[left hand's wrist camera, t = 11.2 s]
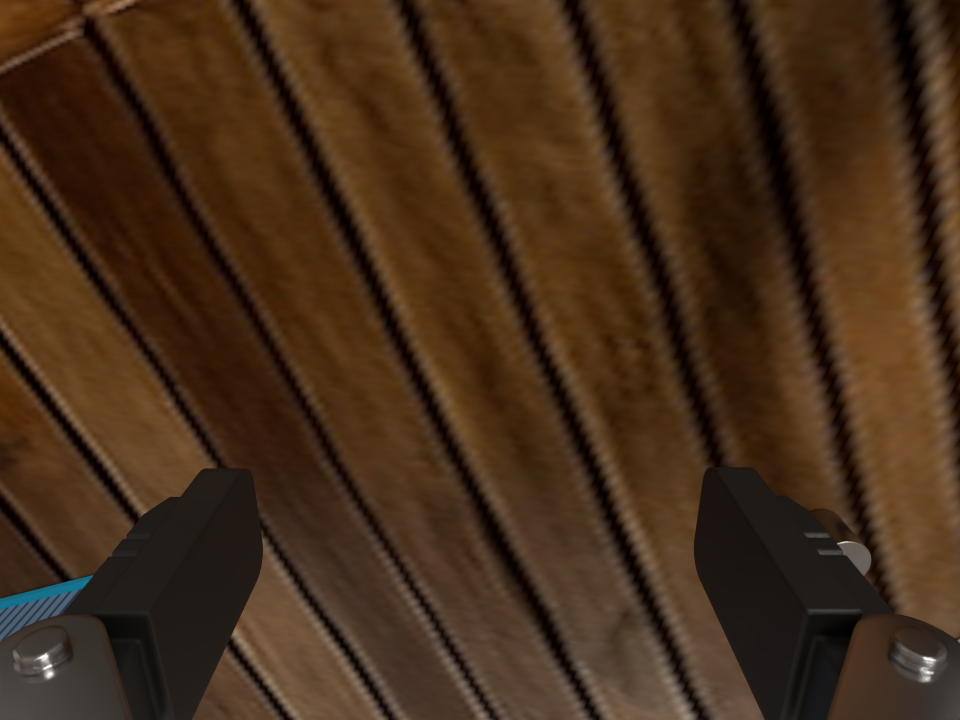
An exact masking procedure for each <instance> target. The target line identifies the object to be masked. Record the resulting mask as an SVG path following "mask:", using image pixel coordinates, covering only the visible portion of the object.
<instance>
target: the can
mask: <svg viewBox="0 0 960 720" xmlns="http://www.w3.org/2000/svg"><path fill="white" fill-rule="evenodd" d="M810 512H811V513H813V515H814V516H815V517H816V518H817V520H818V521H819V522H820V523H821V524H822V526H823V527H824V528H825V529H826V531H827V532H828V533H829V537H830V538H833V539H834V540H835V542H836V543H837V544H838V545H839V547H840V548H841V549H842V550H843V555H847V556H848V558H849V559H850V560H851V561H852V562H853V564H854V565H855V566H856V567H857V569H858V570H859V571H860V572H861V573H862V575H863V576H864V575H865V574H866V572H867V571H868V569H869V567H870V564H871V555H870V552H869V551H868V549H867V548H866V547H865V546H864V544H863V543H862V542H861V541H860V540H859V539H858V538H857V537H856V535H855V534H854V533H853V532H852V531H851V530H850V529H849V527H848V526H847V525H846V524H845V523H844V522H843V521H842V520H841V518H840V517H839V516H838V515H837V514H835V513H834V512H832V511H829V510H822V509H820V510H813V511H810Z"/></svg>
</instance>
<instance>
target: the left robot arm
mask: <svg viewBox="0 0 960 720" xmlns="http://www.w3.org/2000/svg"><path fill="white" fill-rule="evenodd" d="M262 556H263V543H262V535H261V528H260V522H259V515H258V508H257V501H256V494H255V487H254V481H253V477H252V474H251V472H250V471H249V470H248V469H203V470H201V471H200V472H199V473H198V475H197V476H196V477H195V479H194V480H193V481H192V483H191V484H190V485H189V486H188V488H187V489H186V490H185V492H184V493H183V494H182V496H181V497H169V498H168V499H166V500H165V501H163V502H162V503H160V504H159V505H157V506H156V507H154V508H153V509H151V510H150V511H148V512H147V513H145V514H144V515H143V516H142V517H141V518H140V519H139V521H138V522H137V523H136V524H135V526H134V527H133V528H132V529H131V530H130V532H129V533H128V534H127V538H126V539H123V540H122V541H121V543H120V544H119V545H118V546H117V547H116V549H115V550H114V551H113V552H112V557H108V558H107V560H106V561H105V562H104V563H103V564H102V566H101V567H100V568H99V569H98V570H97V572H96V573H95V574H94V575H93V577H92V578H91V579H90V580H89V581H88V583H87V584H86V585H85V586H84V587H83V589H82V590H81V591H80V592H79V594H78V595H77V596H76V597H75V598H74V600H73V601H72V602H71V603H70V604H69V606H68V607H67V608H66V609H65V611H64V612H63V613H62V614H61V615H57V616H52V617H48V618H45V619H42V620H39V621H37V622H34V623H32V624H30V625H27V626H25V627H24V628H22V629H20V630H18V631H16V632H15V633H13V634H11V635H10V636H8V637H7V638H5V639H4V640H3V641H1V642H0V720H192V718H193V716H194V714H195V711H196V709H197V707H198V705H199V703H200V701H201V699H202V696H203V694H204V692H205V690H206V688H207V686H208V684H209V682H210V679H211V677H212V675H213V673H214V671H215V669H216V667H217V665H218V662H219V660H220V658H221V656H222V654H223V652H224V650H225V648H226V645H227V643H228V641H229V639H230V637H231V635H232V633H233V631H234V628H235V626H236V624H237V622H238V620H239V618H240V616H241V614H242V611H243V609H244V607H245V605H246V603H247V601H248V599H249V596H250V594H251V592H252V590H253V588H254V586H255V584H256V582H257V579H258V577H259V574H260V570H261V565H262ZM694 558H695V565H696V569H697V573H698V576H699V579H700V581H701V583H702V585H703V587H704V590H705V592H706V594H707V596H708V598H709V600H710V603H711V605H712V607H713V609H714V611H715V613H716V615H717V618H718V620H719V622H720V624H721V626H722V628H723V631H724V633H725V635H726V637H727V639H728V641H729V643H730V646H731V648H732V650H733V652H734V654H735V656H736V659H737V661H738V663H739V665H740V667H741V669H742V671H743V674H744V676H745V678H746V680H747V682H748V684H749V687H750V689H751V691H752V693H753V695H754V697H755V699H756V702H757V704H758V706H759V708H760V710H761V712H762V715H763V717H764V719H765V720H960V642H959V641H957V640H956V639H955V638H953V637H952V636H950V635H949V634H947V633H945V632H944V631H942V630H940V629H938V628H936V627H935V626H933V625H930V624H928V623H926V622H923V621H921V620H918V619H915V618H912V617H908V616H903V615H898V614H894V613H893V611H892V610H891V609H890V608H889V607H888V605H887V604H886V603H885V602H884V600H883V599H882V598H881V597H880V596H879V594H878V593H877V592H876V591H875V589H874V588H873V587H872V586H871V584H870V583H869V582H868V581H867V580H866V578H865V577H864V576H863V575H862V573H861V572H860V571H859V570H858V569H857V567H856V566H855V565H854V564H853V562H852V561H851V560H850V559H849V558H848V556H847V555H843V550H842V549H841V548H840V547H839V545H838V544H837V543H836V542H835V540H834V539H833V538H830V537H829V533H828V532H827V531H826V529H825V528H824V527H823V526H822V524H821V523H820V522H819V521H818V520H817V518H816V517H815V516H814V515H813V513H811V512H810V511H808V510H807V509H805V508H804V507H802V506H801V505H799V504H798V503H796V502H795V501H793V500H792V499H790V498H789V497H787V496H775V494H774V493H773V492H772V490H771V489H770V488H769V487H768V485H767V484H766V483H765V481H764V480H763V479H762V477H761V476H760V475H759V473H758V472H757V471H756V470H755V469H754V468H751V467H710V468H708V469H707V470H706V472H705V474H704V478H703V483H702V490H701V497H700V504H699V511H698V518H697V525H696V532H695V539H694Z"/></svg>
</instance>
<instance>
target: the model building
mask: <svg viewBox="0 0 960 720" xmlns="http://www.w3.org/2000/svg"><path fill="white" fill-rule="evenodd" d="M92 577H93V575H92V576H88V577H84V578H80V579H76V580H72V581H68V582H64V583H60V584H56V585H52V586H48V587H44V588H41V589H37V590H33V591H29V592H25V593H21V594H17V595H13V596H9V597H5V598H1V599H0V642H1V641H3V640H4V639H5V638H7V637H8V636H10V635H11V634H13V633H15V632H16V631H18V630H20V629H22V628H24V627H25V626H27V625H30V624H32V623H34V622H37V621H39V620H42V619H45V618H48V617H52V616H57V615H61V614H62V613H63V612H64V611H65V609H66V608H67V607H68V606H69V604H70V603H71V602H72V601H73V600H74V598H75V597H76V596H77V595H78V594H79V592H80V591H81V590H82V589H83V587H84V586H85V585H86V584H87V583H88V581H89V580H90V579H91V578H92Z"/></svg>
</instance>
